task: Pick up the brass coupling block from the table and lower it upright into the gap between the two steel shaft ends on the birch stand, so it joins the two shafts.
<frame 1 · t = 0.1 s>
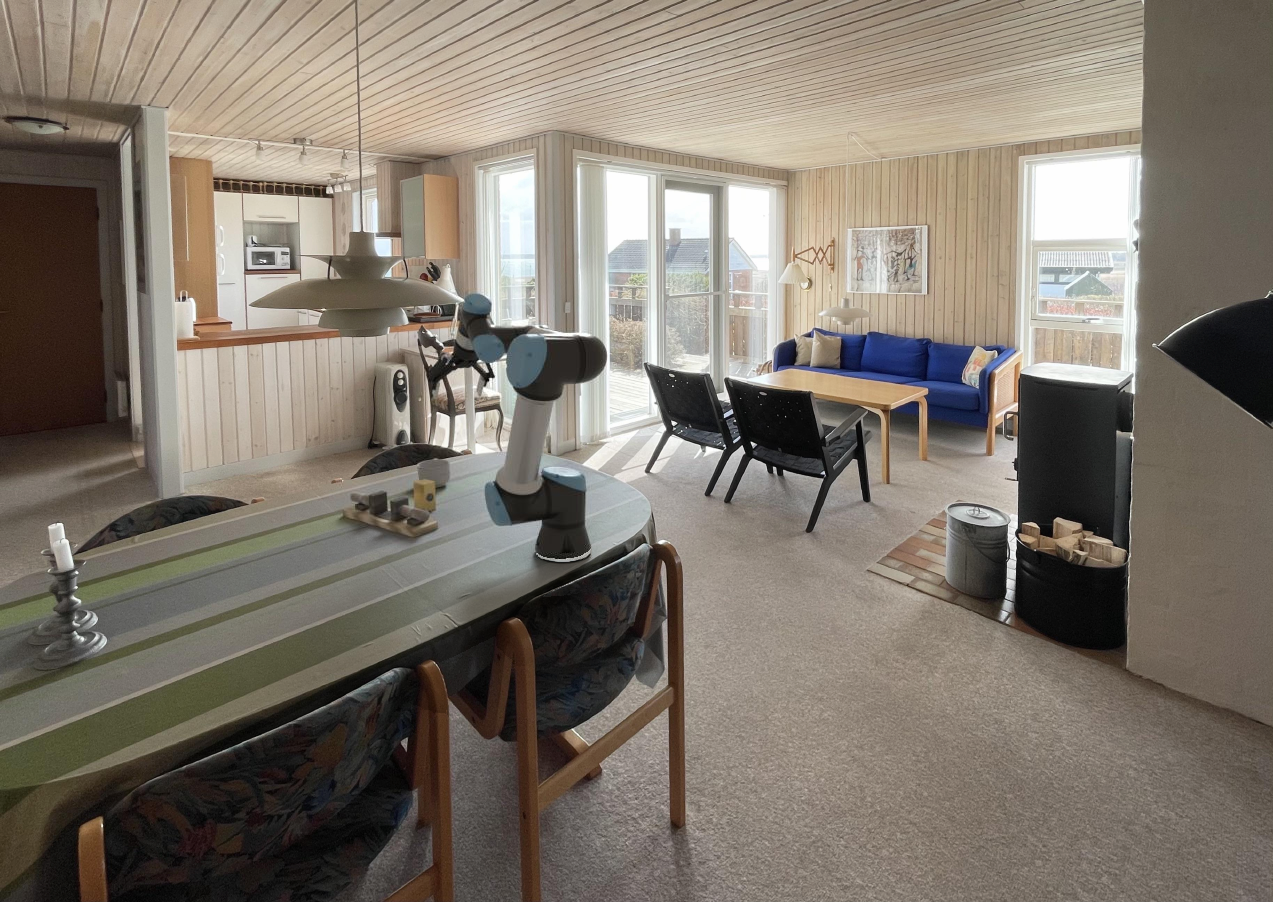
hand: (456, 394, 228), 36 cm above the table, tool tilted 35°, fingers open, 13 cm apart
teacup: (435, 484, 259), on the table
shaft rig: (389, 522, 221), on the table
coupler: (425, 509, 233), on the table
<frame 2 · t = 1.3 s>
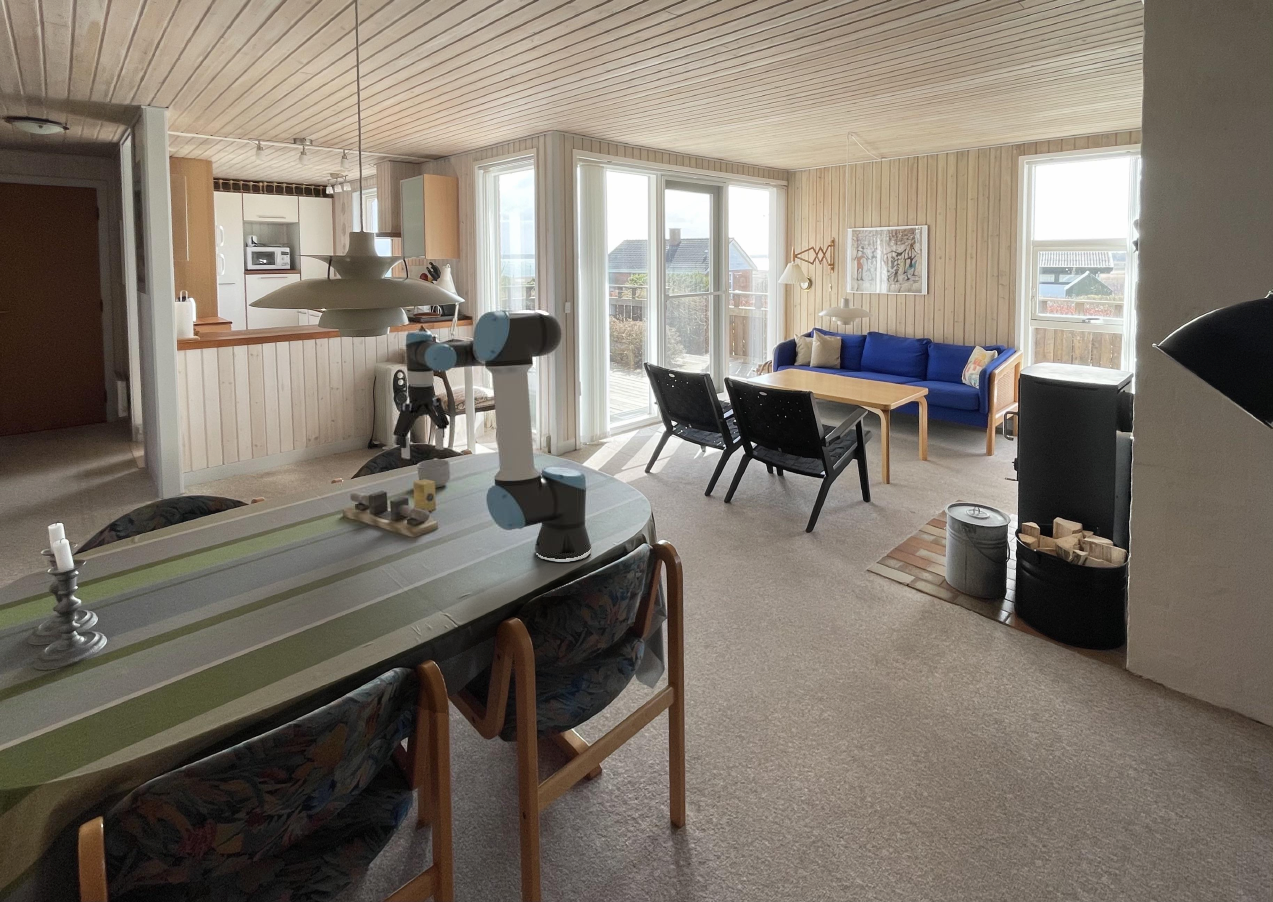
hand: (423, 453, 229), 18 cm above the table, tool pointing down, fingers open, 13 cm apart
nothing on the table moved.
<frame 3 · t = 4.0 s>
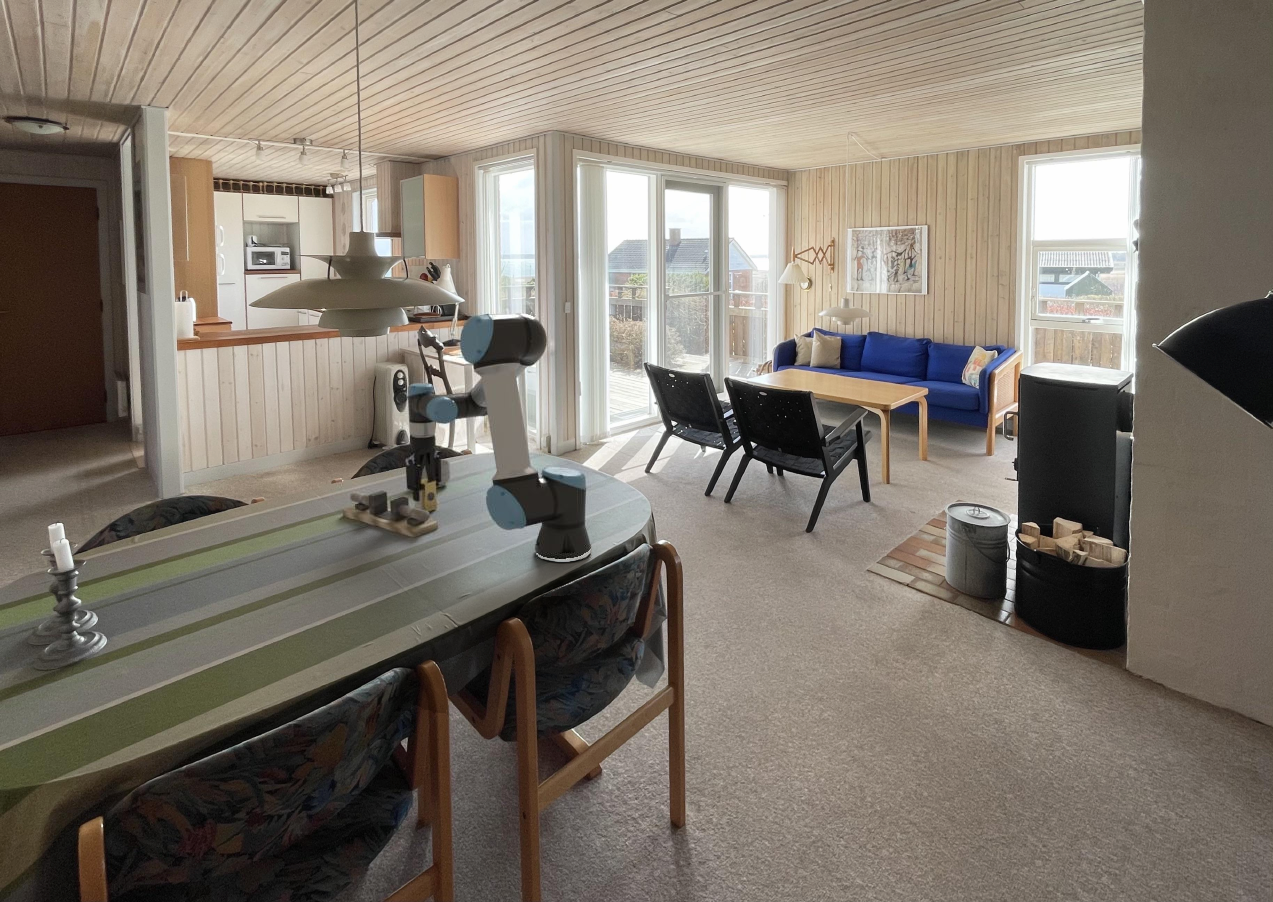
hand: (425, 507, 233), 1 cm above the table, tool pointing down, fingers closed on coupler, 4 cm apart
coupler: (426, 509, 233), on the table, touching gripper
everything else where it was.
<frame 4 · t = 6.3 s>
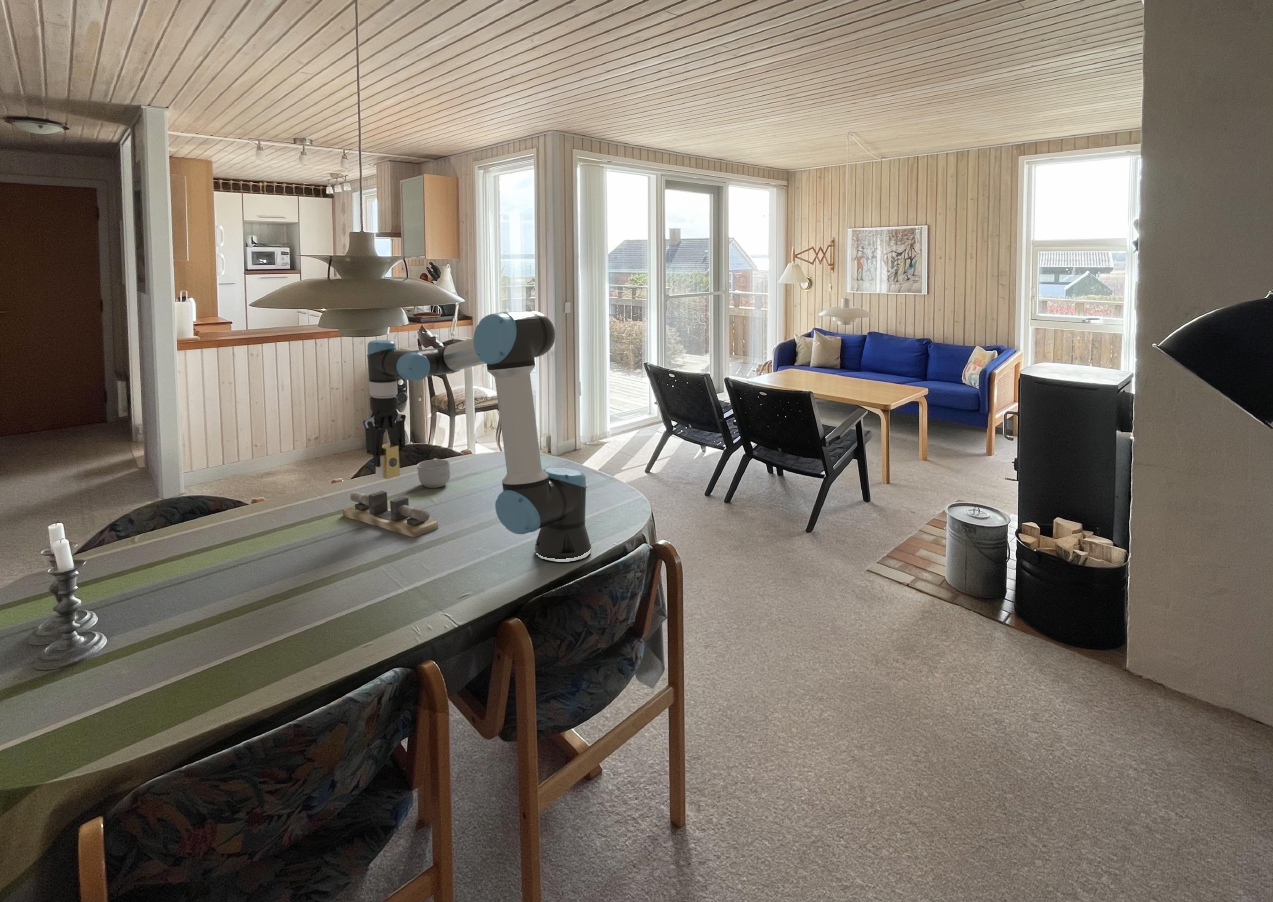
hand: (387, 474, 218), 14 cm above the table, tool pointing down, fingers closed on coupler, 4 cm apart
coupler: (388, 476, 218), point 14 cm above the table, touching gripper
everything else where it was.
when the fingers open (3 cm above the table, at t = 8.9 s): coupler stays where it is, resting on shaft rig.
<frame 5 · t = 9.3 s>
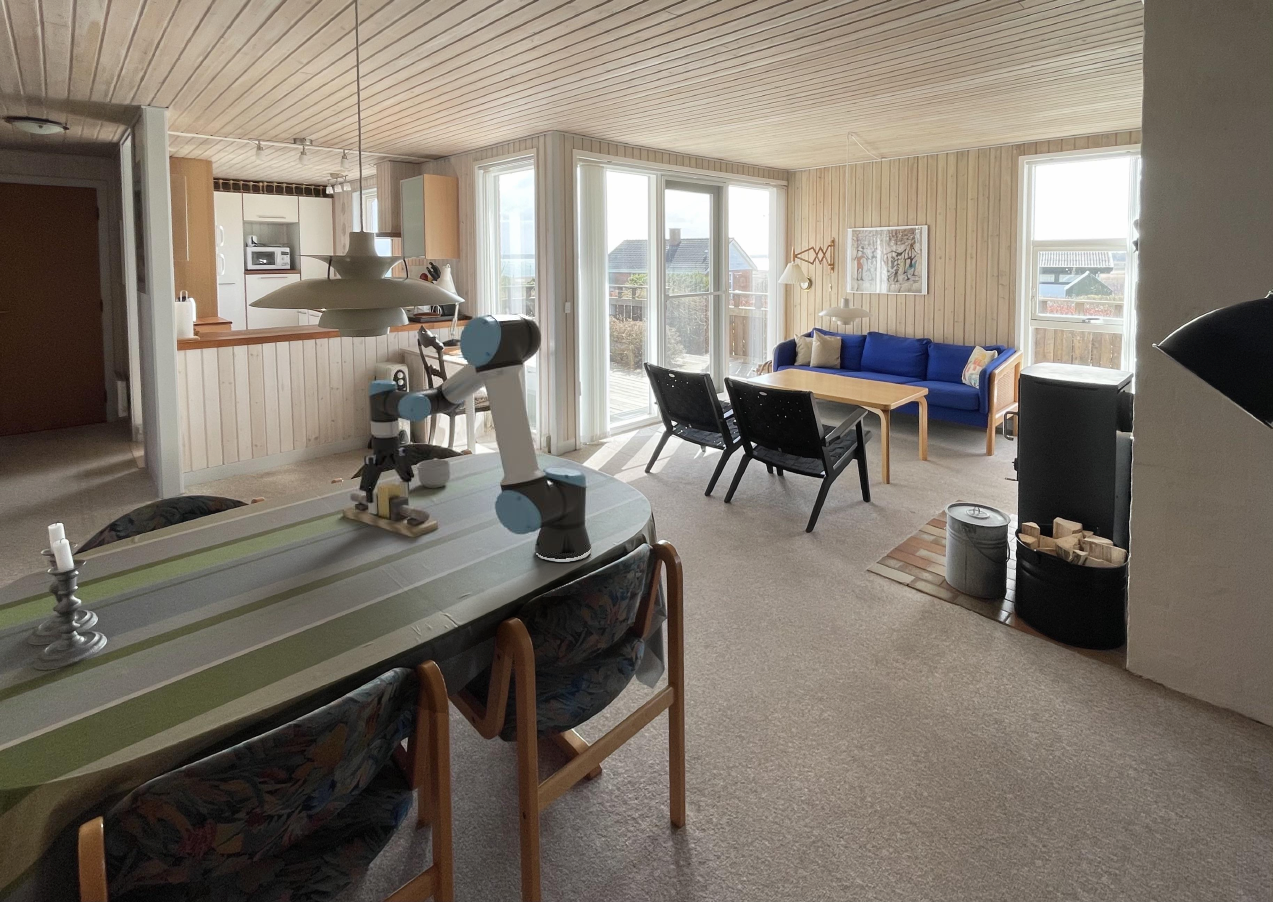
hand: (388, 507, 220), 4 cm above the table, tool pointing down, fingers open, 11 cm apart
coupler: (390, 515, 221), point 2 cm above the table, touching shaft rig
everything else where it was.
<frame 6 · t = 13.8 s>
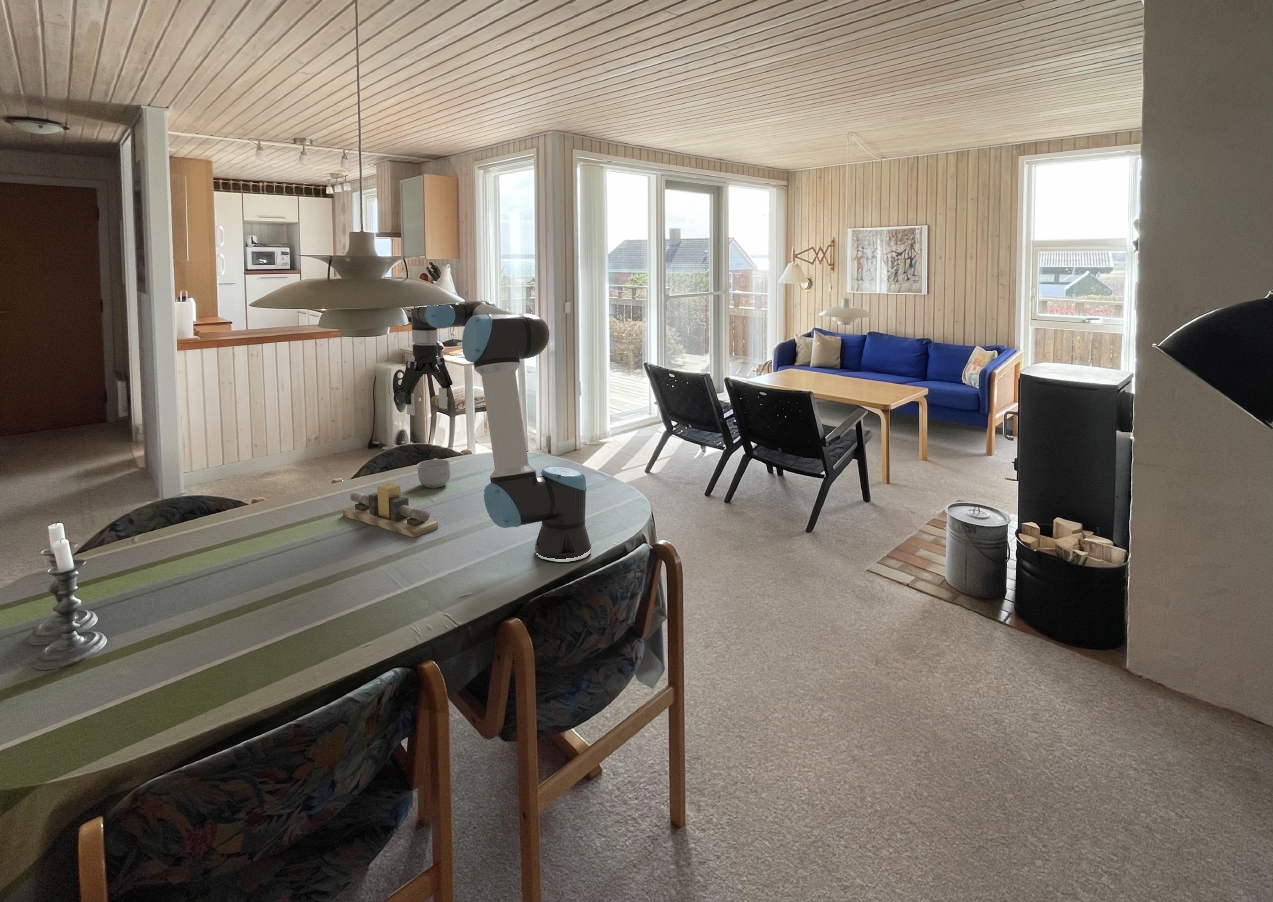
hand: (427, 411, 237), 29 cm above the table, tool pointing down, fingers open, 13 cm apart
nothing on the table moved.
at the end: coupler 0.4 cm off-centre on the shaft rig, point 2.2 cm above the shaft rig's base; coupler tilted 0°; the gripper is holding nothing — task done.
